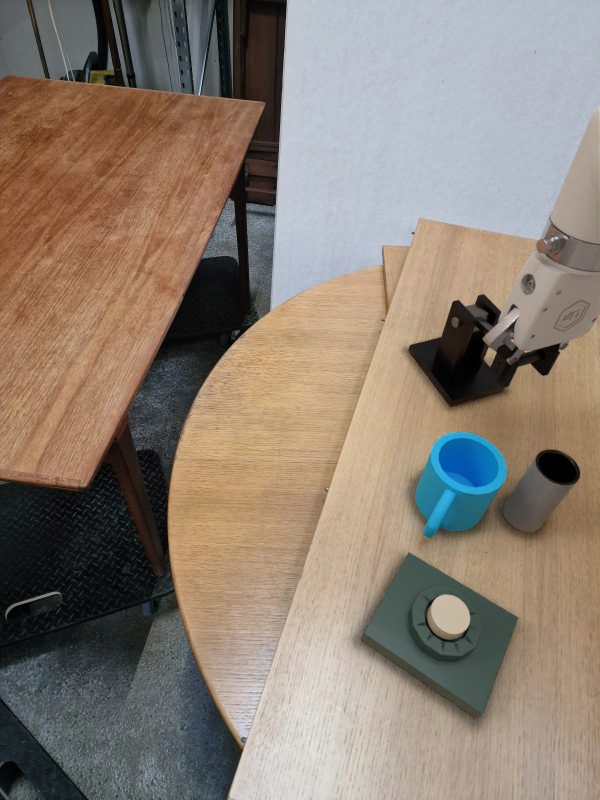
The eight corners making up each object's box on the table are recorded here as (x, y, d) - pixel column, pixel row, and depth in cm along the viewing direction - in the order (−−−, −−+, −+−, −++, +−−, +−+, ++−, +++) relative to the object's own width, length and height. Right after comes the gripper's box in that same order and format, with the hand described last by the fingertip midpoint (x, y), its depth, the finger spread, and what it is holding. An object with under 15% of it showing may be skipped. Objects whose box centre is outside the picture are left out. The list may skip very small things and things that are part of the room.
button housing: (510, 624, 53) (525, 610, 50) (475, 718, 47) (489, 709, 44) (404, 560, 57) (412, 544, 54) (360, 640, 51) (365, 627, 48)
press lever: (541, 365, 63) (547, 349, 61) (508, 375, 62) (513, 359, 60) (481, 316, 71) (484, 301, 70) (450, 324, 70) (453, 308, 69)
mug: (432, 460, 66) (449, 420, 59) (493, 493, 63) (517, 455, 57) (387, 530, 59) (400, 493, 53) (453, 571, 56) (475, 537, 50)
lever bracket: (503, 391, 74) (534, 328, 65) (450, 406, 72) (474, 344, 63) (457, 337, 81) (480, 274, 72) (407, 350, 79) (424, 287, 70)
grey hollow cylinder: (540, 538, 59) (581, 491, 51) (500, 525, 60) (534, 477, 52) (542, 505, 62) (581, 456, 54) (504, 493, 63) (536, 443, 55)
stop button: (470, 615, 49) (476, 608, 48) (456, 648, 47) (461, 642, 46) (436, 593, 51) (440, 586, 49) (420, 625, 49) (424, 618, 47)
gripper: (536, 279, 46) (477, 413, 59) (678, 246, 50) (593, 377, 64) (486, 236, 50) (442, 369, 64) (620, 210, 55) (553, 339, 68)
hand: (518, 372), depth 64 cm, fingers closed on press lever, 5 cm apart
